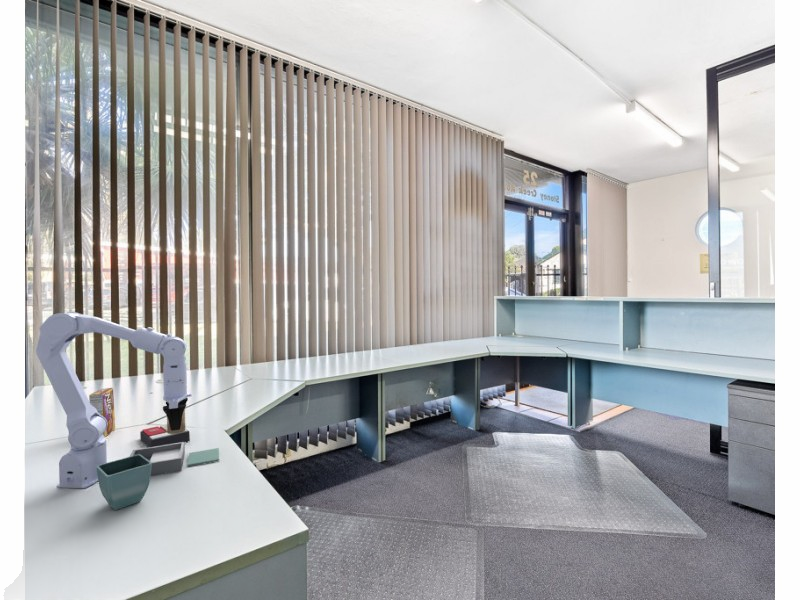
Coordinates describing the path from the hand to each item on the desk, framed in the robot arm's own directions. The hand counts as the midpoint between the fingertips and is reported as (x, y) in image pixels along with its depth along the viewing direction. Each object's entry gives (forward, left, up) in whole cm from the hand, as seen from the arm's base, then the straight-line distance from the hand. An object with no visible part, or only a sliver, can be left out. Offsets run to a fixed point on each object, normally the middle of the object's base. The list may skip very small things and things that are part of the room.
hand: (176, 427), depth 109 cm
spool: (0, 0, -1) cm, 1 cm away
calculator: (+17, +16, -11) cm, 25 cm away
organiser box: (-3, +4, -10) cm, 11 cm away
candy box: (+21, +41, -11) cm, 47 cm away
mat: (+3, -6, -10) cm, 12 cm away
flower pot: (-21, -2, -11) cm, 23 cm away
